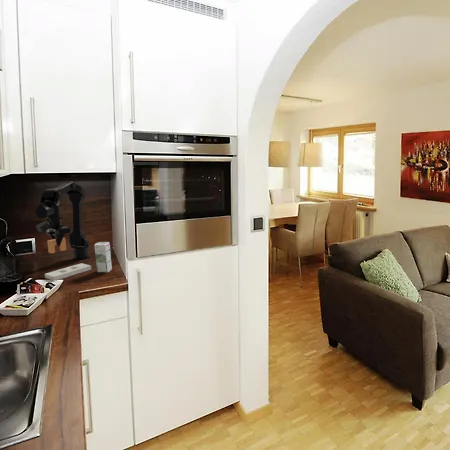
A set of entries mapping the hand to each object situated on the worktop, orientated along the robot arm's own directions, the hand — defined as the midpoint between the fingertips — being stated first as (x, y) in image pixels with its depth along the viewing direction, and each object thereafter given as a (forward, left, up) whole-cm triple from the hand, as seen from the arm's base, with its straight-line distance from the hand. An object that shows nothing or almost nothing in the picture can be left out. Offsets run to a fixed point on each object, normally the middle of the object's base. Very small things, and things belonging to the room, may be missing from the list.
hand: (57, 245), depth 185 cm
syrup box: (-12, +19, -13) cm, 27 cm away
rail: (0, +7, -13) cm, 15 cm away
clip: (0, 0, -3) cm, 3 cm away
